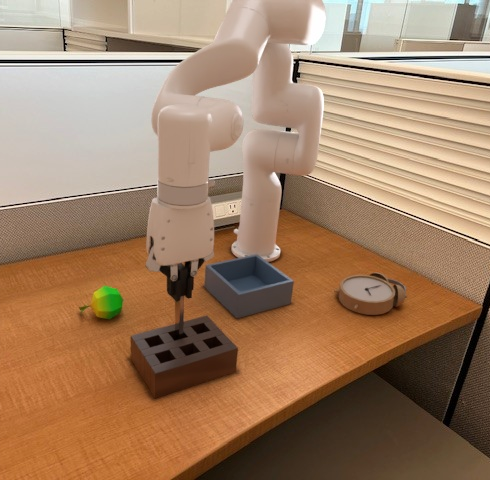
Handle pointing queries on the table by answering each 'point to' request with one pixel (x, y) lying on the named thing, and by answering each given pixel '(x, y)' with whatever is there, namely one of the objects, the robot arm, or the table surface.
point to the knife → (180, 302)
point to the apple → (105, 302)
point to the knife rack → (182, 356)
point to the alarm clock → (371, 293)
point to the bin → (248, 285)
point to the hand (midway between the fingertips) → (179, 295)
